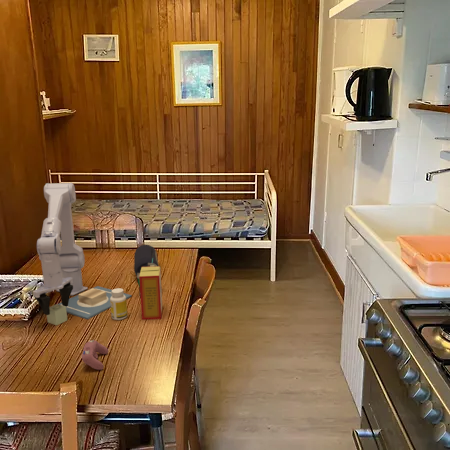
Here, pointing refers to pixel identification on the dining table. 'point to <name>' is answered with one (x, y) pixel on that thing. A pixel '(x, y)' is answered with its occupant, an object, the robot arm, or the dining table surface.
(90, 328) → the dining table surface
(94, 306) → the board
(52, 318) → the sage block
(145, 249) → the portable speaker
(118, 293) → the supplement bottle
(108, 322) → the dining table surface
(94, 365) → the video game controller
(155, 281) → the baking soda box
